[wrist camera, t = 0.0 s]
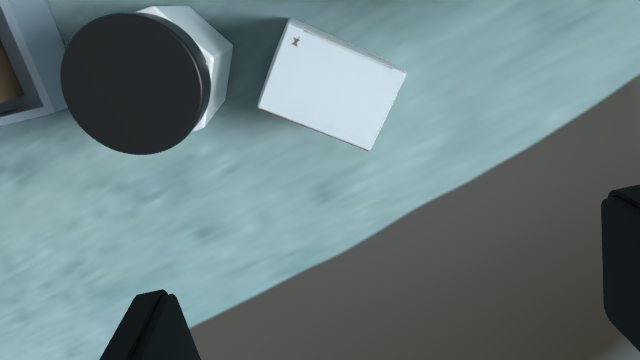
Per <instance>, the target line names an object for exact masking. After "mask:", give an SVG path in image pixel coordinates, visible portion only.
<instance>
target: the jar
mask: <svg viewBox="0 0 640 360" xmlns="http://www.w3.org/2000/svg"><path fill="white" fill-rule="evenodd" d="M232 52H233V45H232V44H231V43H230V42H229V41H228V40H227V39H225V38H224V37H223V36H222V35H221V34H220V33H219V32H217V31H216V30H215V29H214V28H213V27H212V26H211V25H209V24H208V23H207V22H206V21H205V20H204V19H203V18H201V17H200V16H199V15H198V14H197V13H196V12H195V11H193V10H192V9H191V8H190V7H189V6H187V5H175V6H150V7H147V8H145V9H142V10H139V11H136V12H132V13H116V14H110V15H106V16H102V17H99V18H97V19H95V20H93V21H91V22H89V23H88V24H86V25H85V26H84V27H82V28H81V29H80V30H79V31H78V32H77V33H76V34H75V35H74V36H73V38H72V39H71V41H70V42H69V44H68V46H67V48H66V50H65V52H64V55H63V58H62V63H61V70H60V80H61V88H62V93H63V96H64V100H65V102H66V105H67V107H68V109H69V111H70V113H71V114H72V116H73V118H74V119H75V120H76V122H77V123H78V124H79V125H80V127H81V128H82V129H83V130H84V131H85V132H86V133H87V134H88V135H90V136H91V137H92V138H93V139H95V140H96V141H98V142H99V143H101V144H103V145H104V146H106V147H108V148H111V149H113V150H116V151H119V152H123V153H127V154H134V155H148V154H155V153H159V152H162V151H165V150H168V149H170V148H172V147H174V146H175V145H177V144H179V143H180V142H181V141H183V140H184V139H185V138H186V137H187V136H188V135H189V134H190V133H191V132H193V131H196V130H199V129H202V128H204V127H205V126H206V124H207V123H208V122H209V121H210V119H211V118H212V117H213V115H214V114H215V113H216V112H217V110H218V109H219V108H220V106H221V105H222V104H223V103H224V101H225V99H226V92H227V85H228V79H229V72H230V65H231V59H232Z"/></svg>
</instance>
